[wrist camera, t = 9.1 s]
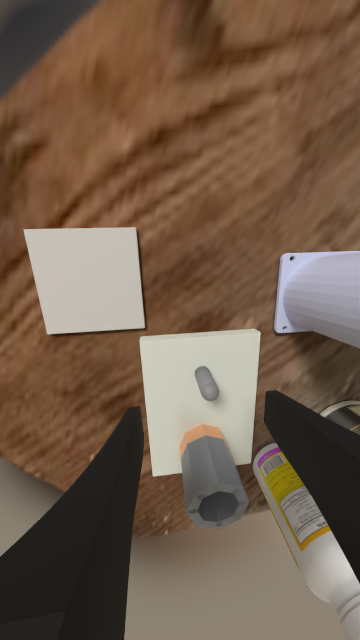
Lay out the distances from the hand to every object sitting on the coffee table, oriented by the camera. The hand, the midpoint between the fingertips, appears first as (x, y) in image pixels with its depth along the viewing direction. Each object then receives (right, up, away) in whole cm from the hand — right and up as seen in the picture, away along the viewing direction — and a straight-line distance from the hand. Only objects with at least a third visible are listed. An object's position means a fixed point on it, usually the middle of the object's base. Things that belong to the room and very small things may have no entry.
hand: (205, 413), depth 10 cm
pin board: (+1, -4, +11) cm, 12 cm away
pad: (-10, +9, +7) cm, 15 cm away
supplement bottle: (+11, -13, +14) cm, 23 cm away
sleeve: (+1, -9, +11) cm, 14 cm away
